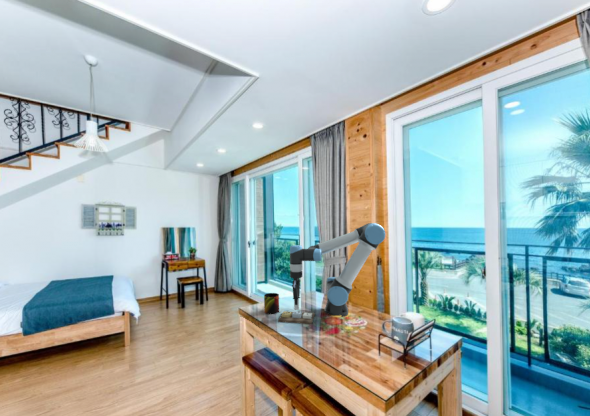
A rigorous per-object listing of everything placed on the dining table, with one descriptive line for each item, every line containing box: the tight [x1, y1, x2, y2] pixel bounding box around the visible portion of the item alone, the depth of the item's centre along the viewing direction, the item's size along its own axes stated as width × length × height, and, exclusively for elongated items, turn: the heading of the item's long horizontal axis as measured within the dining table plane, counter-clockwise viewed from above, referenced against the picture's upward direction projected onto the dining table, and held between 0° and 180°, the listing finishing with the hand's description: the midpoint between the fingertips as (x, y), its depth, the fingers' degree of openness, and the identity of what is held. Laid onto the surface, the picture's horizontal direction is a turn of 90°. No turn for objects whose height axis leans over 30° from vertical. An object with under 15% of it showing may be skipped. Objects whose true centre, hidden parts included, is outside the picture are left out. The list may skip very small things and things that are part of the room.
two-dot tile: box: [292, 310, 303, 318], centre depth 161 cm, size 5×5×4 cm
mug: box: [263, 292, 280, 315], centre depth 175 cm, size 10×14×12 cm
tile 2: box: [303, 312, 313, 319], centre depth 160 cm, size 5×5×4 cm
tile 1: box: [281, 310, 293, 318], centre depth 162 cm, size 5×5×4 cm
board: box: [277, 310, 316, 325], centre depth 161 cm, size 20×14×2 cm
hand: (296, 309), depth 161 cm, fingers closed
